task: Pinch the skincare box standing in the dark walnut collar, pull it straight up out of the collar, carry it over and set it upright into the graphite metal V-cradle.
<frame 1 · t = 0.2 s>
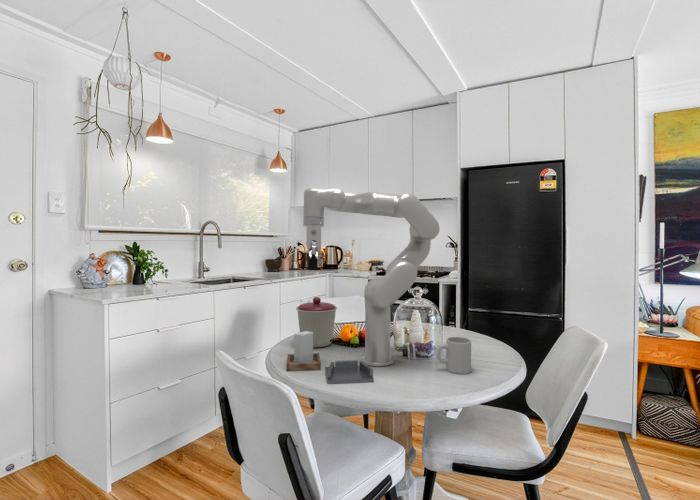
hand: (312, 268, 141), 36 cm above the table, tool pointing down, fingers open, 9 cm apart
canister: (316, 345, 169), on the table
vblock: (348, 375, 130), on the table
mug: (453, 371, 136), on the table
skincare box: (303, 365, 141), resting in walnut collar
walnut collar: (303, 365, 141), on the table
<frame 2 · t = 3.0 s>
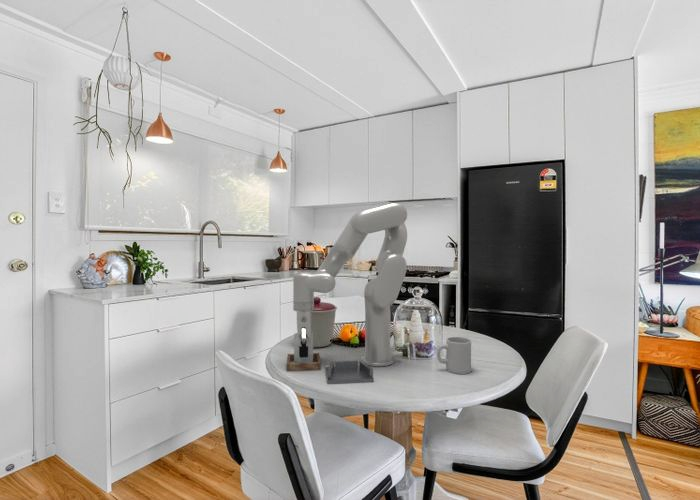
hand: (303, 353, 141), 4 cm above the table, tool pointing down, fingers closed on skincare box, 7 cm apart
skincare box: (303, 365, 141), resting in walnut collar, touching gripper
everything else where it was.
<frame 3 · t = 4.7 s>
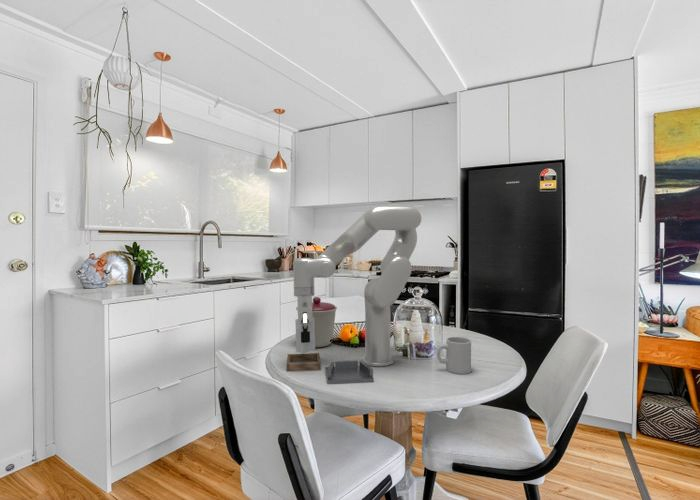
hand: (305, 339, 141), 10 cm above the table, tool pointing down, fingers closed on skincare box, 7 cm apart
skincare box: (305, 351, 141), point 5 cm above the table, touching gripper
everything else where it was.
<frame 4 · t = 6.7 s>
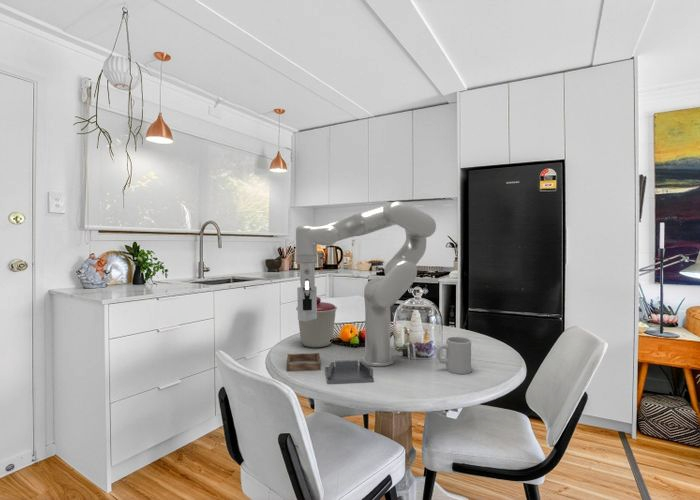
hand: (307, 307, 140), 21 cm above the table, tool pointing down, fingers closed on skincare box, 7 cm apart
skincare box: (307, 320, 140), point 17 cm above the table, touching gripper
everything else where it was.
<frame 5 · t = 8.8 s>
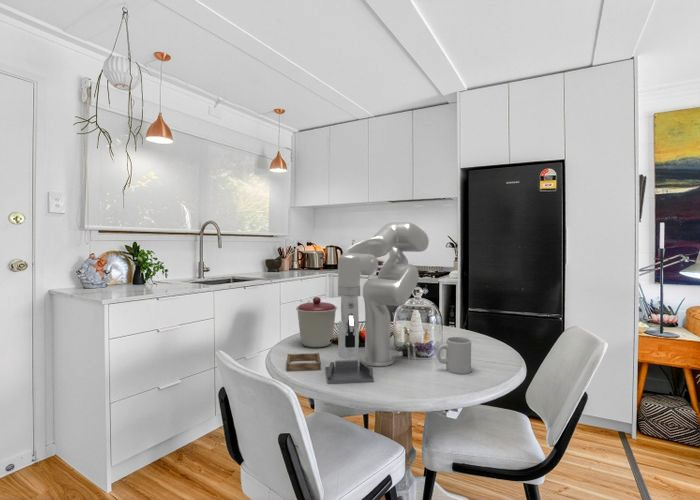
hand: (348, 343, 129), 11 cm above the table, tool pointing down, fingers closed on skincare box, 7 cm apart
skincare box: (348, 357, 129), point 7 cm above the table, touching gripper
everything else where it was.
when the fingers open (7 cm above the table, at t = 10.3 s): skincare box drops 1 cm, resting on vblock.
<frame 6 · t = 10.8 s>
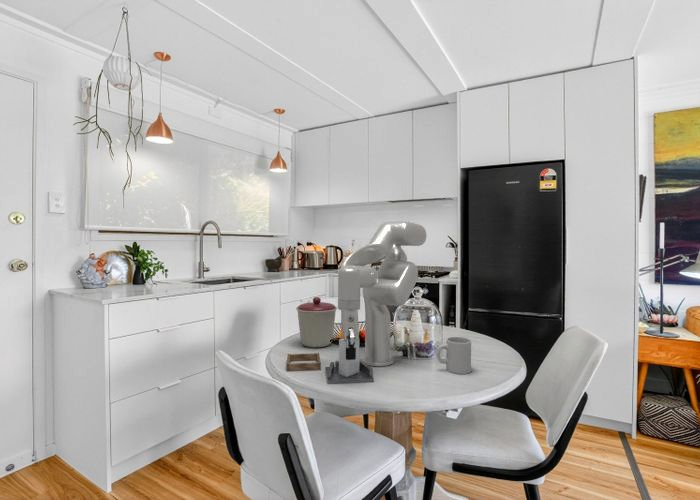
hand: (348, 355, 129), 8 cm above the table, tool pointing down, fingers open, 9 cm apart
skincare box: (349, 374, 129), point 1 cm above the table, touching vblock
everything else where it was.
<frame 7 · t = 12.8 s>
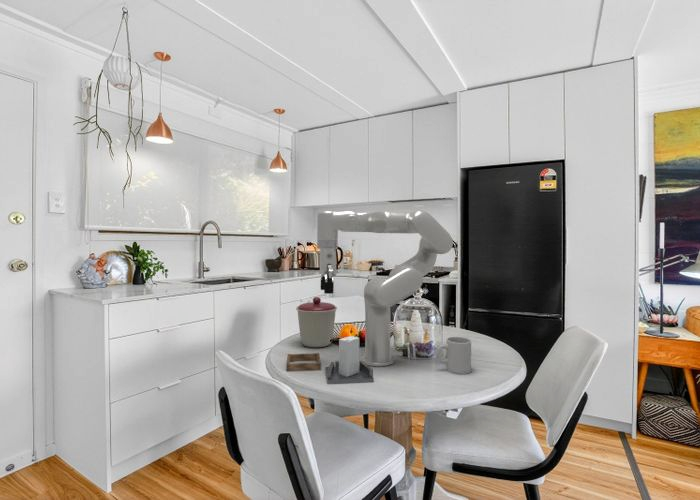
hand: (326, 291, 140), 27 cm above the table, tool pointing down, fingers open, 9 cm apart
nothing on the table moved.
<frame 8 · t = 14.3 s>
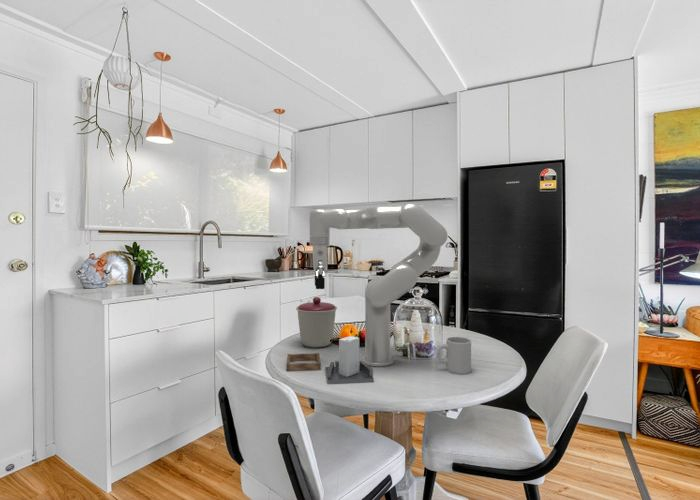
hand: (319, 287, 145), 28 cm above the table, tool pointing down, fingers open, 9 cm apart
nothing on the table moved.
at the end: skincare box 0.6 cm off-centre on the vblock, point 1.0 cm above the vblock's base; skincare box tilted 0°; the gripper is holding nothing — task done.
